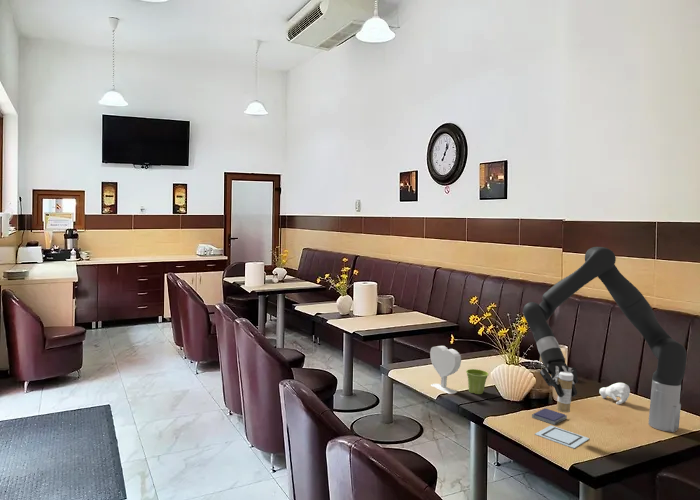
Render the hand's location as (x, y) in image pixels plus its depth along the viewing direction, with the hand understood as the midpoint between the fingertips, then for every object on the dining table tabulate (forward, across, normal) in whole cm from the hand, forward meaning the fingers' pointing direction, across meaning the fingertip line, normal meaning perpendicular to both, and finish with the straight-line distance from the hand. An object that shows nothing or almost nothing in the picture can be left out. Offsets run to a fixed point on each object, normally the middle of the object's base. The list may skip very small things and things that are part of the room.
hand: (568, 395), depth 183 cm
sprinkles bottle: (+3, 0, +6) cm, 7 cm away
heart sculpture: (-27, -22, +49) cm, 60 cm away
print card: (+10, 0, +12) cm, 16 cm away
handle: (-37, +36, +60) cm, 79 cm away
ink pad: (-2, +6, +24) cm, 24 cm away
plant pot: (-23, -9, +45) cm, 52 cm away
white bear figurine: (-11, +45, +33) cm, 57 cm away
